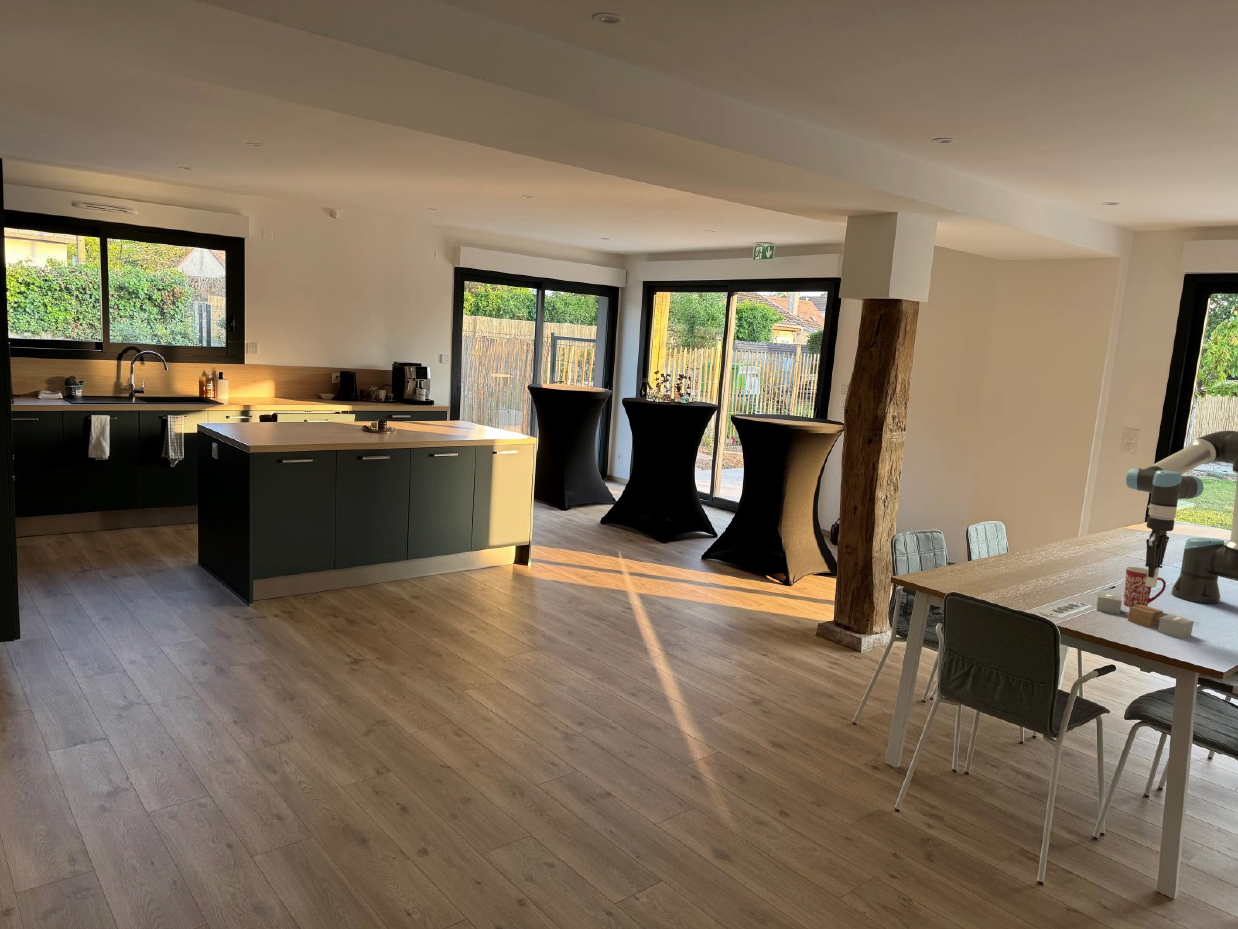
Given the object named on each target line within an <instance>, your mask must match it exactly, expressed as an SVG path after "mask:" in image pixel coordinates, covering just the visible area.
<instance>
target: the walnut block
mask: <svg viewBox="0 0 1238 929" xmlns="http://www.w3.org/2000/svg"><path fill="white" fill-rule="evenodd" d="M1163 614H1164V611H1163V610H1161V609H1157V608H1154V607H1151V606H1149V605H1148V606H1144V605H1137V606H1132V607H1129V611H1128V618H1127V621H1128V622H1131V623H1135V624H1137V625H1141V626H1144V627H1147V628H1153V627H1157V626H1158V627H1159V622H1160V617H1163Z"/></svg>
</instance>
